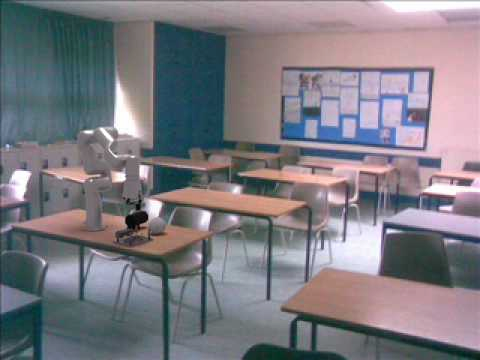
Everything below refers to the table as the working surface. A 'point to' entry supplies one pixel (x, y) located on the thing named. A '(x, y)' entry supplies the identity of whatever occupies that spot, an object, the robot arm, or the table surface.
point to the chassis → (133, 239)
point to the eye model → (157, 225)
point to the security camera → (136, 219)
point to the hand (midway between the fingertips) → (133, 209)
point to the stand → (124, 233)
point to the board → (131, 205)
